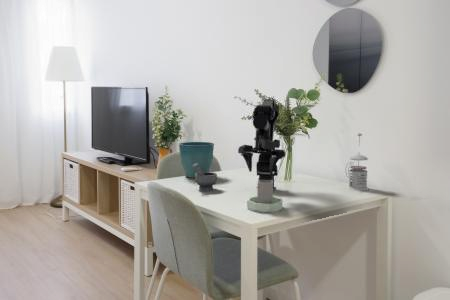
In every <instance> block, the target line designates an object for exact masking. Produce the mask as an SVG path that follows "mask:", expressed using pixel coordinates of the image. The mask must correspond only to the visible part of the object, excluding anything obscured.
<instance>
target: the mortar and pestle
mask: <svg viewBox="0 0 450 300" xmlns="http://www.w3.org/2000/svg"><path fill="white" fill-rule="evenodd" d="M193 168H194V169H195V171H196V174H195V178H194V179H195V182H196V184H197V185H198V186H199V187H198V189H199V191H203V192H204V191H207V192H208V191H212V190H214V188H213V186H214V185H215V184H216V182H217V178H218V174H217V173H216V172H212V171H209V172H202V170H201V169H200V167H199V165H198V163H196V164H194V165H193Z"/></svg>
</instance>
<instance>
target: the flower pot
mask: <svg viewBox="0 0 450 300" xmlns="http://www.w3.org/2000/svg"><path fill="white" fill-rule="evenodd" d="M178 146H179V147H178V149H179V156H180V158H179V159H180V162H181V165H182V167H183V168H182V169H183V171H184V176H185V177H187V178H190V179H191V178H193V179H195V174H196V171H195V169H194V168H193V165H194V164H196V163H198V165H199V167H200V169H201V170H202V172H210V169H211V166H212V162H213V158H214V148H215V147H214V146H215V143H214V142H209V141H185V142H179V143H178Z"/></svg>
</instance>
